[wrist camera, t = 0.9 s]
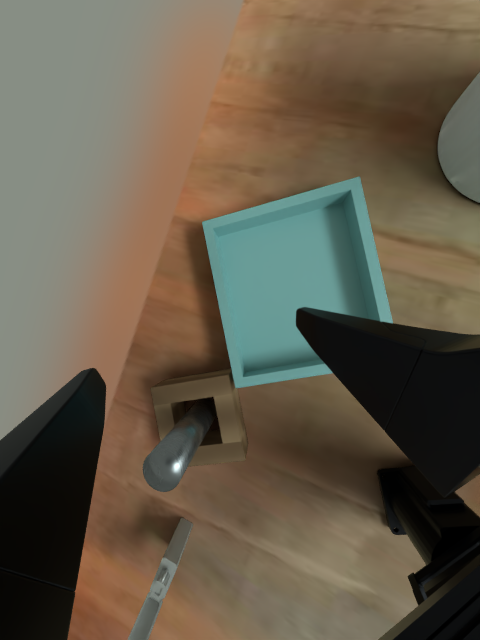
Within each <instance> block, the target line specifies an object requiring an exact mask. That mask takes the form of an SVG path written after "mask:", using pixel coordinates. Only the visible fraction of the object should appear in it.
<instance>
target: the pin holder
mask: <svg viewBox="0 0 480 640" xmlns="http://www.w3.org/2000/svg"><path fill="white" fill-rule="evenodd" d="M151 393H152V399H153V404H154V409H155V415H156V420H157V425H158V431H159V436H160V441H162V439H163V438H164V437H165V436H166V435H167V434H168V433H169V432H170V431H171V429H172V428H173V427H174V426H175V425H176V424H177V423H178V422H179V421H180V419H181V418H182V417H183V416H184V415H185V414H186V411H185V406H184V401H188V400H195V399H201V398H208V397H214V401H215V406H216V411H217V416H218V421H219V426H220V430H213V431H207V433H206V435H205V437H204V439H203V440H202V442H201V444H200V446H199V447H198V449H197V451H196V453H195V455H194V456H193V458H192V460H191V462H190V464H189V465H188V467H189V466H198V465H208V464H218V463H227V462H237V461H245V459H246V453H247V447H248V439H247V434H246V429H245V424H244V419H243V415H242V410H241V405H240V400H239V395H238V390H237V388H235V384H234V379H233V374H232V369H226V370H220V371H214V372H208V373H202V374H197V375H191V376H185V377H179V378H174V379H168V380H164V381H162V382H160V383H158V384H157V385H155V386H153V387H151Z"/></svg>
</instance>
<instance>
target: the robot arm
mask: <svg viewBox="0 0 480 640" xmlns="http://www.w3.org/2000/svg"><path fill="white" fill-rule="evenodd" d="M296 327H297V329H298V330H299V331H300V333H301V334H302V336H303V337H304V338H305V340H306V341H307V343H308V344H309V345H310V347H311V348H312V349H313V351H314V352H315V353H316V354H317V355H318V357H319V358H320V359H321V360H322V361H323V362H324V363H325V364H326V366H327V367H328V368H329V369H330V370H331V371H332V372H333V373H334V375H335V376H336V377H337V378H338V379H339V380H340V381H341V382H342V384H343V385H344V386H345V387H346V388H347V389H348V390H349V391H350V393H351V394H352V395H353V396H354V397H355V398H356V399H357V401H358V402H359V403H360V404H361V405H362V406H363V407H364V408H365V410H366V411H367V412H368V413H369V414H370V415H371V416H372V417H373V419H374V420H375V421H376V422H377V423H378V424H379V425H380V426H381V428H382V429H383V430H385V432H386V433H387V435H388V436H389V437H390V438H391V439H392V440H393V441H394V442H395V444H396V445H397V446H398V447H399V448H400V449H401V450H402V451H403V453H404V454H405V455H406V456H407V457H408V458H409V459H410V460H411V462H412V463H413V464H414V465H415V466H414V467H402V468H393V469H381V470H379V471H378V473H377V475H378V479H379V484H380V489H381V493H382V498H383V502H384V507H385V511H386V516H387V521H388V525H389V528H390V530H391V532H392V533H393V534H395V535H406V534H407V535H408V537H409V538H410V540H411V542H412V543H413V545H414V546H415V548H416V549H417V551H418V553H419V554H420V556H421V557H422V559H423V560H424V562H425V564H426V566H425V567H423V568H422V569H420V570H419V571H418V572H416V573H415V574H414V573H412V574H410V575H409V576H408V579H409V581H410V584H411V586H412V589H413V593H414V596H415V598H416V601H417V603H418V607H416V608H415V609H414V610H413V611H412V612H411V613H409V614H408V615H407V616H406V617H405V618H403V619H402V620H401V621H400V622H399V623H397V624H396V625H395V626H394V627H393V628H391V629H390V630H389V631H388V632H387V633H385V634H384V635H383V636H382V637H381V638H379V639H378V640H480V517H479V516H478V515H477V514H476V513H475V512H474V511H472V510H471V509H470V508H469V507H468V506H467V505H466V504H465V503H464V501H463V499H461V498H460V497H459V496H458V495H457V494H456V493H455V491H456V490H458V489H459V488H460V487H462V486H463V485H465V484H466V483H468V482H469V481H471V480H472V479H473V478H475V477H476V476H478V475H479V474H480V335H469V334H459V333H452V332H445V331H438V330H431V329H424V328H418V327H411V326H405V325H399V324H394V323H388V322H383V321H382V322H381V321H377V320H372V319H367V318H362V317H356V316H351V315H346V314H340V313H335V312H330V311H324V310H319V309H314V308H308V307H302V308H299V309H297V310H296ZM105 400H106V385H105V382H104V380H103V379H102V377H101V376H100V374H99V373H98V371H97V370H96V369H95V368H90V369H87V370H83V371H81V372H80V373H79V374H78V375H77V376H75V377H74V378H73V379H72V380H71V381H69V382H68V383H67V384H66V385H65V386H64V387H62V388H61V389H60V390H59V391H58V392H56V393H55V394H54V395H53V396H52V397H51V398H49V400H47V401H46V402H45V403H44V404H43V405H41V406H40V407H39V408H38V409H37V410H35V411H34V412H33V413H32V414H31V415H30V416H28V417H27V418H26V419H25V420H24V421H22V422H21V423H20V424H19V425H18V426H17V427H15V428H14V429H13V430H12V431H11V432H10V433H8V434H7V435H6V436H5V437H4V438H3V439H1V440H0V640H67V638H68V632H69V626H70V621H71V615H72V609H73V603H74V598H75V592H74V591H75V590H76V585H77V579H78V573H79V567H80V562H81V556H82V550H83V544H84V538H85V533H86V527H87V521H88V515H89V510H90V504H91V498H92V492H93V487H94V481H95V475H96V469H97V464H98V458H99V452H100V446H101V440H102V435H103V429H104V420H105ZM382 475H385V476H383V477H382ZM394 528H395V529H394Z"/></svg>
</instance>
